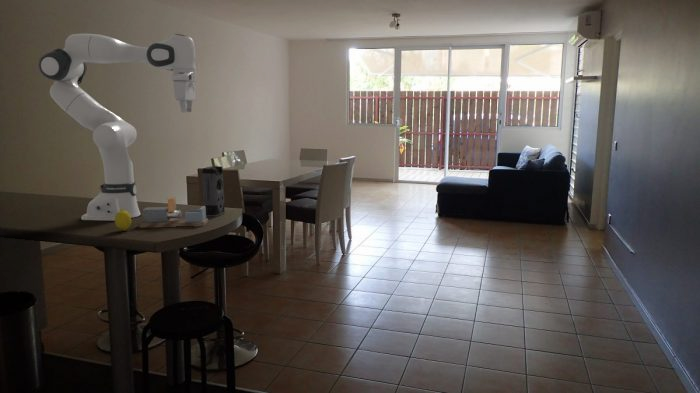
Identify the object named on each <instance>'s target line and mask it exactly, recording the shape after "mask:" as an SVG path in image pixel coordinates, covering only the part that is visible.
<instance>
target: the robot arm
mask: <svg viewBox="0 0 700 393" xmlns="http://www.w3.org/2000/svg"><path fill="white" fill-rule="evenodd" d="M195 48H196V46H195V42H194V39H192V37H190V36H188V35H184V34H180V33H173V34H172V35H171V36H170V37H168V38H167V39H164V40H162V41H159V42H154V43H152V44H151V45H149V46H148V47H145V46H137V45H133V44H130V43H127V42H124V41H121V40H119V39H117V38H114V37H111V36H108V35H102V34H98V33H97V34H96V33H74V34H73V33H72V34H70V35H69V36H67V37H66V39H65V42H64V48H63V49H62V48H61V47H60V48H56V49H54V50H51V51H49V52H47V53H45V54H43V55H42V56H41V57H40V59H39V60H38V69H39V71H40V73H41V74H42V76H44V77H45V78H47V79H48V80H52V81H53V84H52V85H51V86H50V89H49V96H50V97H51V98H52V100H53V101H54V102H55V103H56V104H57V105H58V106H59V108H61V109H62V110H63V111H64V112H65V113H66V114H68V116H70V117H71V118H73V120H75V121H76V122H77V123H78V124H80V125H81V126H82V127H83V128H85V129H88V130H90V131H91V132H93V133H92V141H93V143H94V144H95V145H96V146H97V148H98V151H99V154H100V157H101V161H102V164H103V172H104V173H103V175H104V183H103V184H101V185H100V186H99V188H98V189H100V193H98V194H97V195H96V196H95V197H94V198H93V199H92V200H91V201H89V203H88V205H87V207H86V213H85V214H83V215H81V217H80V218H81V220H82V221H112V222H113V221H114V222H115V216H116V214H117V213H118V212H119V211H121V210H124V211H127V212H128V213H129V214H130V216H131V219H132V218H136V217H139V216H140V215H141V210H140V209H139V204H138V200H137V197H136V196H137V186H136V181H135V179H134V178H135V174H134V165H133V161H132V160H131V157H130V155H129V151H128V147H130V146H132V145H133V143H134V142H135V141H136V140H137V137H138V135H137V134H138V132H137V130H136V128H135V126H133V124H131V123H129V122H127V121H125V120H124V119H122V118H121V117H120V116H118V115H116V114H115V113H114V112H112V111H110V110H109V109H107V108H106V107H105V106H103V105H101V104H100V103H99V102H98V101H96V99H94V98H93V97H92V96H91V95H89V93H87V92H86V91H85V90H83V89H82V87H80V86H79V85H80V84H81V83H82V81H83V79H84V76H86V73H87V69H88V68H87V67H88V66H87V63H92V64H117V63H119V64H120V63H130V62H132V63H142V64H150V65H151V66H153V67H155V68H158V69H162V70H167V71H170V72H172V73H171V76H170V77H171V81H172V83H173V92H174V99H175V101H179V106H180V112H181V113H191V112H193V102H194V101H196V97H197V96H196V87H195V82H196V83H197V80H198V79H197V68H196V63H195V62H196V59H197V58H196V49H195ZM141 216H142V215H141Z"/></svg>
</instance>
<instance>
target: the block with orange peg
mask: <svg viewBox="0 0 700 393" xmlns="http://www.w3.org/2000/svg"><path fill="white" fill-rule="evenodd" d="M167 207H168V211H167V218H171V219H182V210H180V209H179V210H177V198H176V196H170V197H168V198H167ZM141 218H143V213H142V215H141Z"/></svg>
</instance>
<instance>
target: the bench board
mask: <svg viewBox="0 0 700 393" xmlns="http://www.w3.org/2000/svg"><path fill="white" fill-rule="evenodd" d="M208 222H209V217H208V218H207V217H206V219H205V220H204V221H203V222H186V220H185V217H184V218H171V220H170V221H168V222H157V223H143V221H140V223H139V224H138V225H139V228H177V227H176V226H194V227H204V226H206V224H207V223H208Z"/></svg>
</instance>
